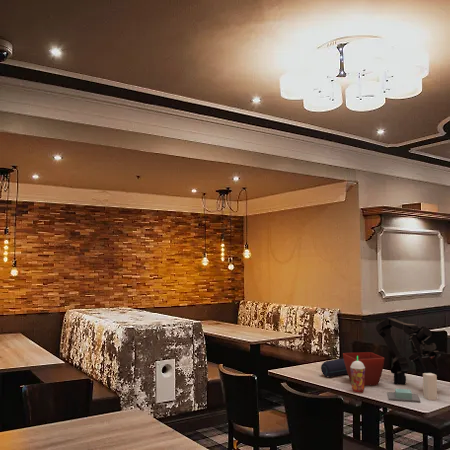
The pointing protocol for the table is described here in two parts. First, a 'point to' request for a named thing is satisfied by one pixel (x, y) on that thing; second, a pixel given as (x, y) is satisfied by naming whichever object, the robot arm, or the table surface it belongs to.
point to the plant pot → (366, 366)
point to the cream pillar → (430, 386)
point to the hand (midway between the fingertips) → (431, 370)
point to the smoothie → (357, 376)
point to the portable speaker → (334, 368)
